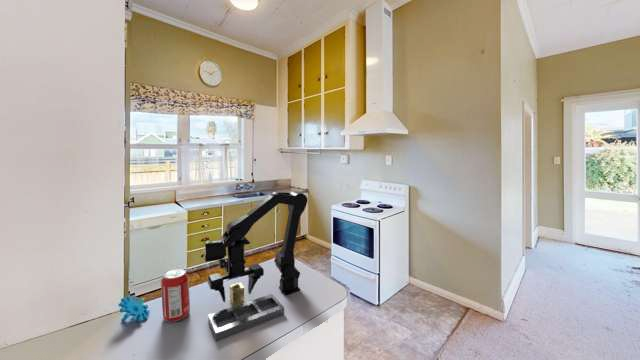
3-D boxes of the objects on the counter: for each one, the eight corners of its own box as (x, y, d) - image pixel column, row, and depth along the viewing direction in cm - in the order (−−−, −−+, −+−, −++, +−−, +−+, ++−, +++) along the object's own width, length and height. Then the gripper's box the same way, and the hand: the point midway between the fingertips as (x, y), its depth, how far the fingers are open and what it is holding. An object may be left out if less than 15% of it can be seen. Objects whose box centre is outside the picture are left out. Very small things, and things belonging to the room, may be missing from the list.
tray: (271, 300, 94) (271, 293, 94) (284, 314, 86) (284, 307, 86) (208, 322, 82) (208, 314, 82) (216, 341, 74) (215, 333, 73)
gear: (141, 324, 78) (115, 302, 77) (125, 339, 77) (99, 318, 76) (157, 307, 89) (135, 288, 88) (144, 320, 88) (121, 301, 87)
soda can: (171, 327, 79) (168, 281, 78) (158, 318, 83) (155, 274, 82) (194, 314, 86) (193, 271, 84) (182, 306, 90) (180, 265, 88)
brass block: (240, 297, 96) (240, 282, 95) (244, 302, 93) (244, 286, 92) (229, 301, 94) (229, 285, 93) (233, 306, 90) (232, 290, 90)
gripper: (253, 244, 103) (253, 281, 105) (203, 254, 92) (204, 295, 94) (264, 253, 94) (264, 293, 96) (210, 266, 83) (211, 310, 85)
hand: (237, 297), depth 93 cm, fingers open, 9 cm apart
